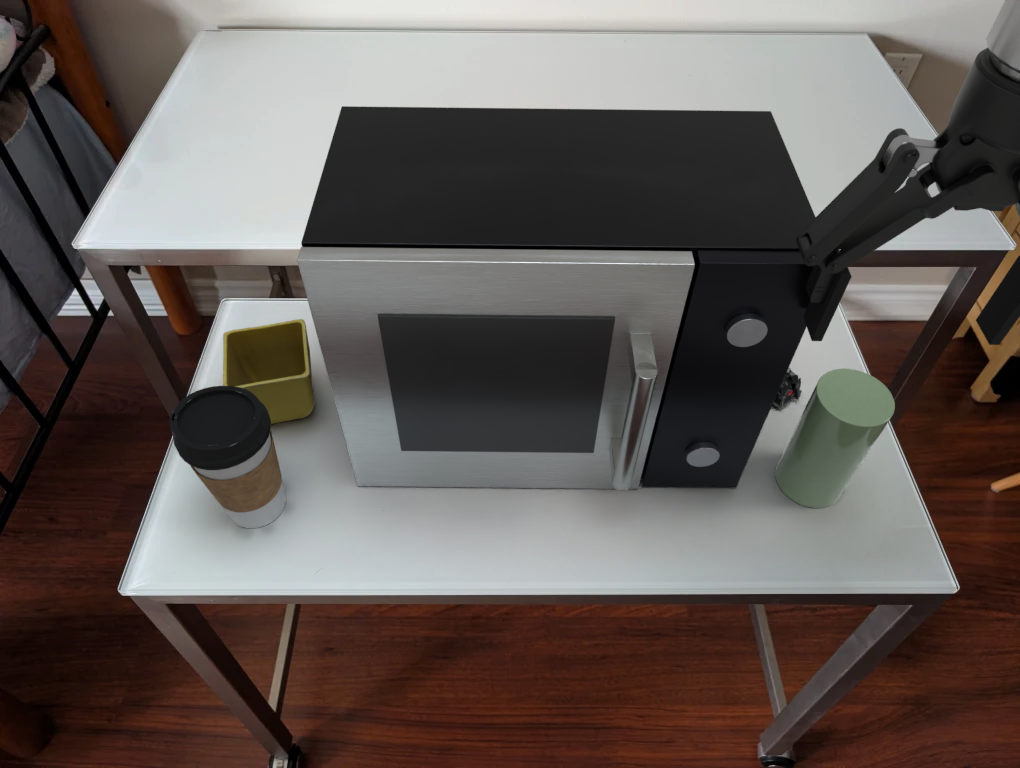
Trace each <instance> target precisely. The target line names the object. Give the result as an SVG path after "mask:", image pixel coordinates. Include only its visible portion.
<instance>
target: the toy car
mask: <svg viewBox="0 0 1020 768" xmlns="http://www.w3.org/2000/svg"><path fill="white" fill-rule="evenodd" d="M801 385H802V378H801V377H799V374H796V373H795V372H793V370H792V369H791V368H790V367H789V368H788V370H787V373H786V375H785V377H784V379H783V382H782V384H781V386H780V389H779V391H778V393H777V395H776V398H775V400H774V402H773V406H775V407H776V408H779V409H780V410H783V409H784V408H786V407H787V406H788V404H789V403H791V402H792V400H793V399H796V400H797V401H799V399H800V397H801V395H802V390H801Z"/></svg>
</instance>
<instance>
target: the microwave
mask: <svg viewBox="0 0 1020 768" xmlns="http://www.w3.org/2000/svg"><path fill="white" fill-rule="evenodd" d="M327 151H328V152H327V155H326V158H325V161H324V165H323V168H322V171H321V175H320V178H319V182H318V185H317V188H316V192H315V195H314V198H313V202H312V205H311V208H310V212H309V215H308V218H307V221H306V225H305V228H304V232H303V236H302V238H301V241H300V243H301V247H351V248H441V249H532V250H622V251H692V254H693V258H694V262H695V267H694V271H693V275H692V279H691V283H690V287H689V291H688V294H687V298H686V302H685V306H684V310H683V314H682V318H681V322H680V326H679V330H678V334H677V338H676V342H675V345H674V349H673V353H672V357H671V361H670V365H669V369H668V373H667V377H666V381H665V385H664V389H663V393H662V397H661V400H660V404H659V408H658V412H657V416H656V420H655V424H654V428H653V432H652V436H651V440H650V444H649V448H648V451H647V455H646V459H645V463H644V467H643V471H642V475H641V479H640V484H641V487H642V488H648V487H649V488H714V489H715V488H717V489H721V488H722V489H723V488H724V489H725V488H726V489H727V488H728V489H736V488H737V487H738V485H739V482H740V480H741V477H742V475H743V473H744V471H745V469H746V466H747V464H748V462H749V459H750V457H751V455H752V453H753V450H754V448H755V446H756V443H757V441H758V439H759V436H760V435H761V432H762V430H763V427H764V425H765V423H766V420H767V418H768V416H769V414H770V411H771V409H772V407H773V406H774V404H773V402H774V400H775V398H776V395H777V393H778V391H779V389H780V386H781V384H782V382H783V379H784V377H785V375H786V373H787V370H788V368H790V366H791V363H792V362H793V359H794V357H795V354H796V353H797V349H798V348H799V345H800V343H801V340H802V338H803V336H804V334H805V332H806V329H807V326H806V323H805V320H804V317H803V316H804V314H805V312H806V309H807V307H808V304H809V302H810V298H809V296H808V293H807V290H806V284H807V281H808V279H809V276H810V274H811V271H812V269H813V266H807V265H805V263H804V261H803V258H802V256H801V253H800V250H799V247H798V245H797V242H796V237H797V236H798V234H799V233H800V232H801V231H802V230H803V229H804V228H805V227H806V226H807V225H808V224H810V223H811V222H812V221H813V220H814V219H815V218H816V217H817V216H816V215H815V212H814V210H813V208H812V204H811V203H810V200H809V199H808V196H807V193H806V191H805V189H804V187H803V184H802V182H801V179H800V177H799V174H798V171H797V170H796V167H795V165H794V163H793V160H792V158H791V155H790V153H789V151H788V148H787V146H786V144H785V142H784V139H783V136H782V134H781V132H780V129H779V127H778V124H777V123H776V120H775V117H774V115H773V113H772V111H770V110H703V109H702V110H701V109H700V110H697V109H692V110H691V109H690V110H689V109H678V110H677V109H614V108H613V109H612V108H611V109H610V108H609V109H608V108H604V109H602V108H524V107H523V108H519V107H517V108H515V107H441V106H439V107H437V106H435V107H433V106H432V107H431V106H429V107H427V106H426V107H425V106H423V107H422V106H354V105H353V106H352V105H351V106H344V105H343V106H341V109H340V111H339V115H338V117H337V121H336V125H335V128H334V131H333V135H332V138H331V141H330V145H329V148H328V150H327Z"/></svg>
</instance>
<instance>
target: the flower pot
mask: <svg viewBox="0 0 1020 768" xmlns="http://www.w3.org/2000/svg"><path fill="white" fill-rule="evenodd" d="M222 386H235V387H240V388H243V389H246V390H248V391H250V392H252V393H253V394H254V395H255V396H256V397H257V398H258V399H259V401H260V402H262V403H263V404H264V405H265V407H266V409H267V410H268V413H269V416H270V419H271V425H273V424H279V423H283V422H289V421H294V420H300V419H304V418H306V417H307V418H308V416H309V415H310V414H311V412H312V411H313V409H314V405H315V394H314V384H313V374H312V361H311V350H310V344H309V337H308V331H307V325H306V321H305V320H304V319H303V318H300V319H292V320H286V321H282V322H281V321H280V322H276V323H271V324H265V325H264V324H263V325H261V326H260V325H258V326H251V327H244V328H238V329H231V330H228V331H224V332H223V335H222Z"/></svg>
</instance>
